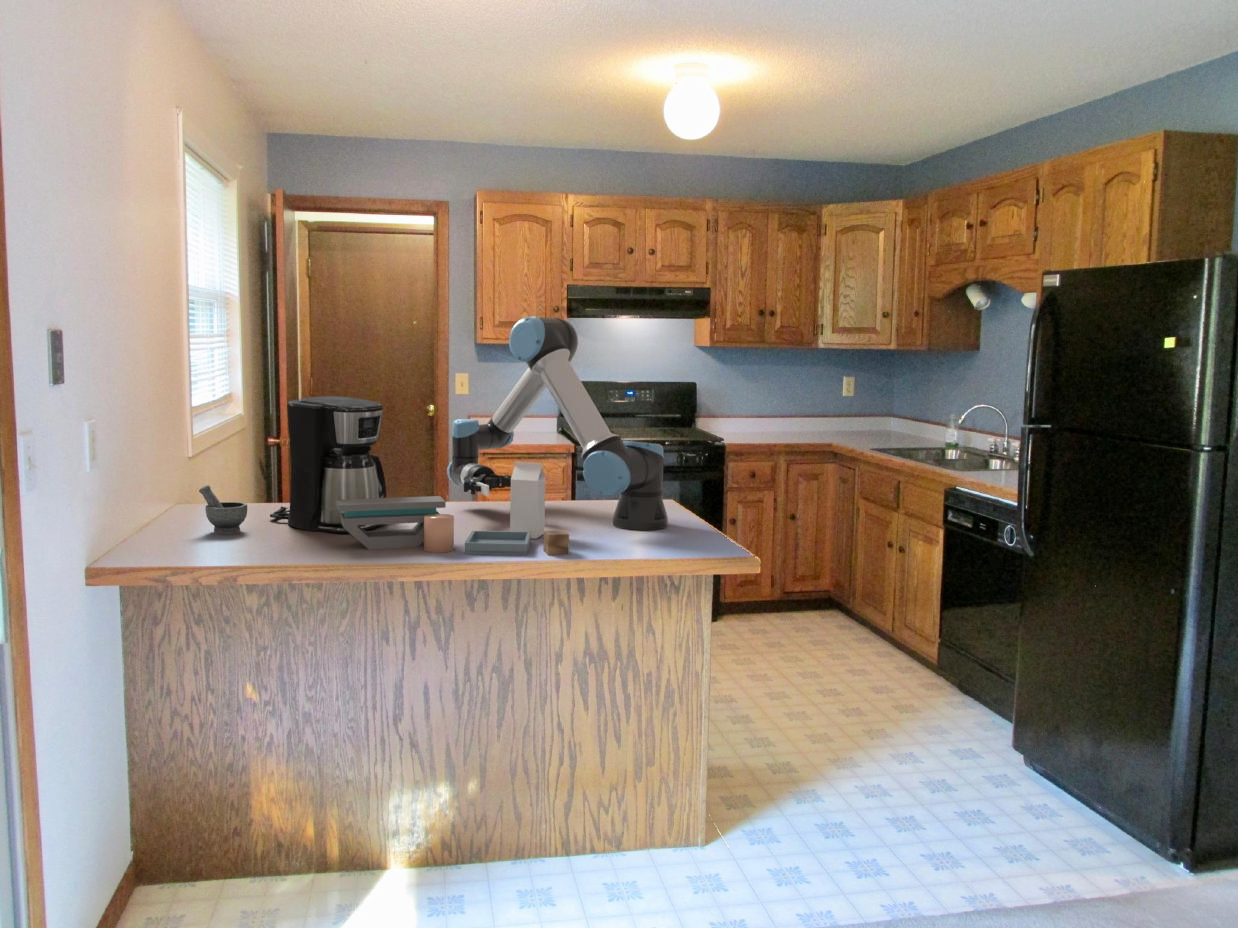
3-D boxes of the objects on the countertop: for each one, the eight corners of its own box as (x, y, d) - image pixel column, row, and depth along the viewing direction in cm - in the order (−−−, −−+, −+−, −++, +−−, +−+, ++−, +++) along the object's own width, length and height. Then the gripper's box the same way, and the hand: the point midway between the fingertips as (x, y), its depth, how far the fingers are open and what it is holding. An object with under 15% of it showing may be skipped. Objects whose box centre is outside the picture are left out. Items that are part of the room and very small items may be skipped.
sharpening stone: (439, 538, 248) (439, 496, 246) (445, 545, 240) (445, 501, 239) (336, 543, 239) (335, 499, 238) (339, 550, 232) (338, 505, 230)
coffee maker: (370, 536, 249) (369, 402, 244) (245, 531, 251) (241, 398, 246) (396, 519, 271) (395, 396, 267) (281, 515, 273) (279, 393, 269)
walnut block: (563, 550, 239) (564, 530, 238) (568, 554, 234) (569, 534, 233) (543, 551, 237) (543, 530, 237) (548, 555, 233) (548, 534, 232)
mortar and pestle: (249, 527, 255) (248, 481, 253) (246, 535, 246) (244, 487, 244) (202, 529, 252) (201, 482, 250) (197, 536, 243) (195, 488, 241)
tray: (530, 541, 247) (530, 531, 246) (527, 554, 232) (527, 544, 232) (471, 540, 246) (472, 530, 246) (464, 553, 232) (464, 542, 231)
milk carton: (536, 539, 250) (537, 465, 248) (509, 537, 252) (510, 463, 249) (544, 533, 257) (545, 461, 255) (518, 532, 258) (519, 460, 256)
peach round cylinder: (455, 546, 239) (456, 514, 238) (451, 552, 232) (451, 519, 231) (426, 546, 239) (427, 513, 238) (421, 552, 232) (421, 518, 231)
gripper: (518, 488, 286) (552, 500, 268) (436, 493, 273) (467, 506, 255) (518, 462, 285) (553, 472, 267) (436, 466, 272) (467, 477, 254)
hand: (511, 489), depth 261 cm, fingers open, 13 cm apart
